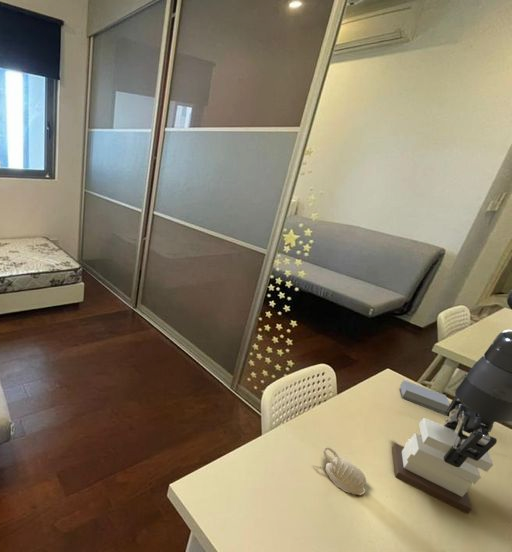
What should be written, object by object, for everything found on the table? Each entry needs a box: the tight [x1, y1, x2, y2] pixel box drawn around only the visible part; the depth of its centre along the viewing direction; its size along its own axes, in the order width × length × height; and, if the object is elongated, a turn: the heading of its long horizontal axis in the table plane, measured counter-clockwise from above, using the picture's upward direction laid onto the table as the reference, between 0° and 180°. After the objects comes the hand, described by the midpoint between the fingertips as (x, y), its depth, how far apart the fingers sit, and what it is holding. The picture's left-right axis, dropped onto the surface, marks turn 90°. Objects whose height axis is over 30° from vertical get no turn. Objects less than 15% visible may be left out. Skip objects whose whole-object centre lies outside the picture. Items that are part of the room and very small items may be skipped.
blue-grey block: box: [399, 379, 451, 417], centre depth 86 cm, size 9×6×4 cm, turn 54°
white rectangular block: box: [418, 417, 494, 472], centre depth 62 cm, size 9×6×2 cm, turn 54°
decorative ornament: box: [322, 446, 367, 496], centre depth 63 cm, size 4×8×5 cm, turn 37°
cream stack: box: [391, 432, 482, 514], centre depth 65 cm, size 11×9×8 cm
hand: (447, 451), depth 63 cm, fingers closed on white rectangular block, 6 cm apart
